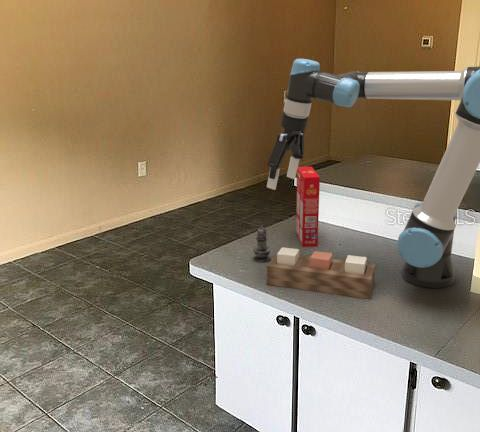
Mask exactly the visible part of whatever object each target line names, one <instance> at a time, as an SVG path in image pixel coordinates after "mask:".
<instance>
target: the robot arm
mask: <svg viewBox="0 0 480 432" xmlns="http://www.w3.org/2000/svg"><path fill="white" fill-rule="evenodd" d="M320 67H321V66H320V63H319V62H318V61H315V60H311V59H308V58H296V59H294V60H293V62H292V66H291V70H290V73H289V80H288V84H287V85H288V86H287V90H286V91H287V92H286V94H285V99H284V100H283V103H284V106H283V113H282V115H281V120H280V126H281V127H282V128H283V129H284V130H283V133H280V132H278V134H277V136H276V141H275V144H274V145H273V149H272V152H271V154H270V156H269V159H268V161H267V163H266V165H267V167H269V168H270V169H269V173H268V177H267V182H266V188H268V189H271V190H274V191H275V190H277V184H278V181H279V175H280V169H281V168H280V166H281V164H282V162H283V161H284V158H285V157H286V154H287V152H288V151H289V150H291V151H290V152H291V155H292V156H290V158H289V165H288V169H287V171H286V172H287V173H286V177H287V178H289V179H293V180H296V178H297V168H298V167H299V163H300V160H303V159H304V154H305V152H304V151H305V134H306V133H305V132H306V130H307V125H308V121H309V118H308V117H309V116H310V112H311V108H312V105H313V104H312V103H313V99H315V100H320V101H322V102H327V103H330V104H333V105H336V106H338V107H345V108H351V107H353V106H354V104H355V103H356V102H357V100H365V99H367V100H368V99H370V100H377V99H378V100H416V101H417V100H419V101H420V100H424V101H425V100H426V101H459V105H458V106H457V109H456V112H455V117H456V119H457V124H456V127H455V129H454V131H453V134H452V136H451V138H450V141H449V142H448V145H447V147H446V150H445V151H444V154H443V156H442V157H441V161H440V163H439V165H438V168H436V172H435V174H434V176H433V179H432V180H431V183H430V185H429V187H428V191H427V192H426V194H425V197H424V198H423V201H422V202H418V203H415V205H414V206H413V209H412V211H411V214H410V216H409V218H408V220H407V222H406V225H405V226H404V229H403V231H402V232H401V233H400V234H399V235H398V239H397V243H396V247H397V251H398V254H399V255H400V257H401V259H402V260H404V263H403V264H402V269H401V277H402V278H403V279H404V280H405V281H407V282H408V283H410V284H413V285H415V286H418V287H422V288H423V287H424V288H431V289H439V288H446V287H450V286H451V285H453V284H454V283H455V279H456V272H455V268H454V263H453V259H452V252H453V251H452V250H453V244H454V243H453V241H454V235H455V229H456V226H457V225H456V220H457V211H458V209H459V207H460V205H461V202H462V200H463V198H464V197H465V194H466V193H467V190H468V188H469V186H470V184H471V182H472V180H473V178H474V175H475V173H476V171H477V169H478V167H479V166H480V65H478V66H467V67H465V68H464V69H463V70H445V71H444V70H439V71H437V70H436V71H435V70H433V71H432V70H430V71H428V70H426V71H425V70H424V71H421V70H420V71H369V72H368V71H367V72H366V71H358V70H356V71H355V70H354V71H348V72H346V73H339V74H333V73H329V72H326V71H325V72H324V71H322V70H321V69H320Z"/></svg>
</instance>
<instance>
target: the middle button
mask: <svg viewBox="0 0 480 432" xmlns="http://www.w3.org/2000/svg"><path fill="white" fill-rule="evenodd" d="M310 256H311V258H310V268H315V269H323V270H330V268H331V266H332V259H333V252H325V251H318V250H317V251H316V250H314V251H313V253H312V254H311V255H310Z"/></svg>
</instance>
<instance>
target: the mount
mask: <svg viewBox="0 0 480 432" xmlns="http://www.w3.org/2000/svg"><path fill="white" fill-rule="evenodd" d="M278 252H279V251H277V252H275V254H274V256H273V257H272V258H271V260H269V261H268V262H269V263H268V264H267V265H266V285H267V286H268V285H269V286H274V287H275V286H277V287H283V288H289V287H290V288H291V289H296V288H297V290H302V291H303V290H304V291H312V292H318V293H324V294H331V293H332V294H331V295H333V294H334V295H338V294H339V295H340V296H347V297H354V298H358V299H361V298H362V299H367V300H370V299H371V295H372V290H373V288H374V284H375V276H376V275H375V273H376V272H375V271H376V263H370V262H366V272H365V275H362V274H354V273H346V272H345V261H346V259H339V258H332V266H331V268H330V270H323V269H315V268H310V258H311V256H312V255H303V254H299V261H298V263H297V264H296V266H291V265H284V264H277V253H278Z"/></svg>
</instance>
